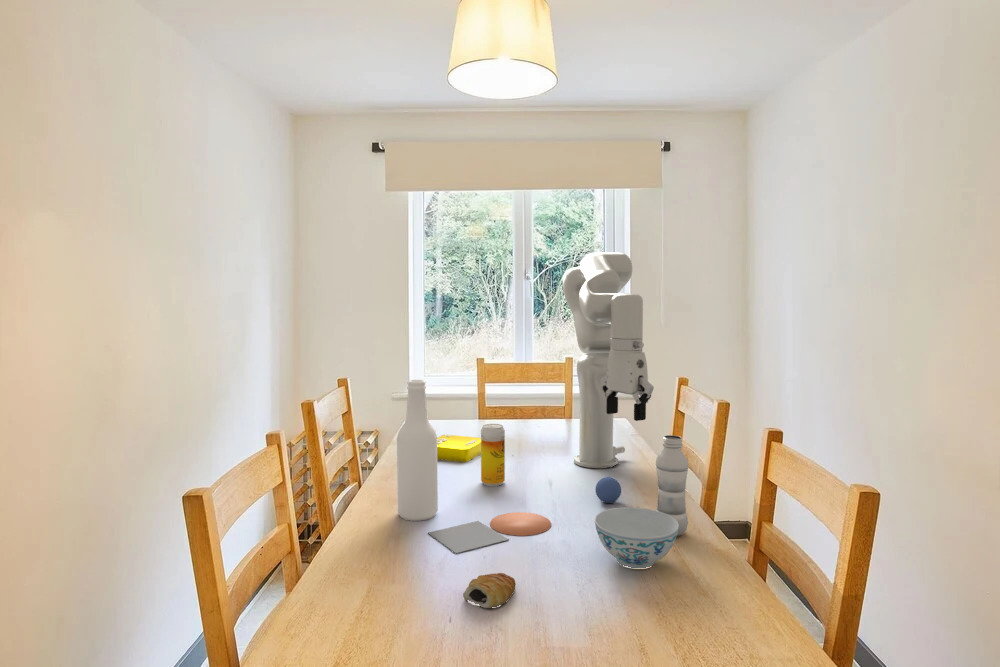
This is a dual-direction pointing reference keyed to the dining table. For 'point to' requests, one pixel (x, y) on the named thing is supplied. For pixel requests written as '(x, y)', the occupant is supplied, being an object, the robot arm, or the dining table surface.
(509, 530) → the orange disc
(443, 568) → the dining table surface
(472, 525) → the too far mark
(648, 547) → the chinaware
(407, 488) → the alcohol
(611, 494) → the ball
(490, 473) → the beer can
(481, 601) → the pastry
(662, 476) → the plastic bottle
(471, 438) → the element tile
